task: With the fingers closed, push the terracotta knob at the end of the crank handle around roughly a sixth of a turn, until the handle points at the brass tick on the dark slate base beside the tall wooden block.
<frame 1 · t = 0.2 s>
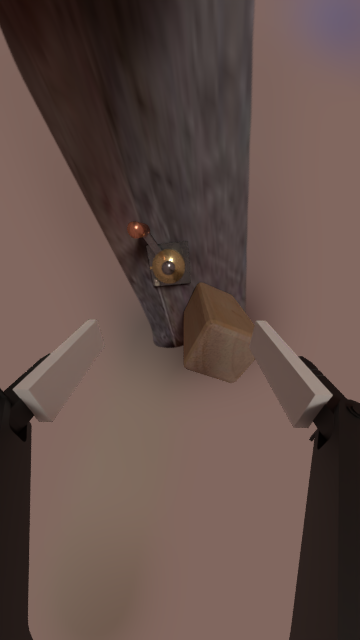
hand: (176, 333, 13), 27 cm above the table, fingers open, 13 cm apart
crank handle: (158, 255, 31), point 5 cm above the table, hinge at 0.0°
level base: (169, 264, 36), on the table
wooden block: (207, 304, 41), on the table
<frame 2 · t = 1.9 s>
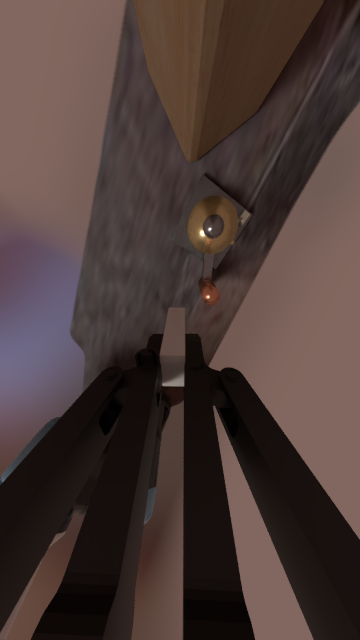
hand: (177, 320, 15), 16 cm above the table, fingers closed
crank handle: (211, 252, 22), point 5 cm above the table, hinge at 0.0°
level base: (209, 227, 25), on the table
wooden block: (204, 91, 18), on the table
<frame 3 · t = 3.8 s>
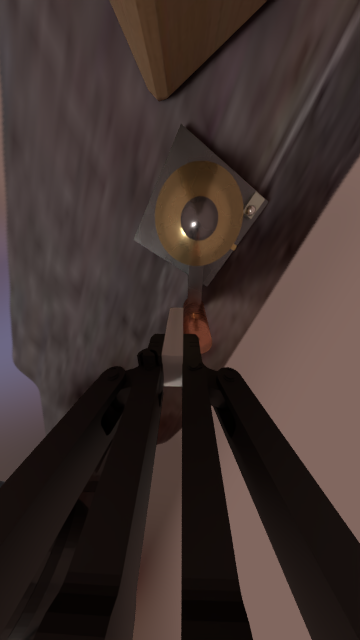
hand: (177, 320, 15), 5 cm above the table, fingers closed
crank handle: (197, 264, 13), point 5 cm above the table, hinge at 1.8°, touching gripper
level base: (196, 222, 15), on the table
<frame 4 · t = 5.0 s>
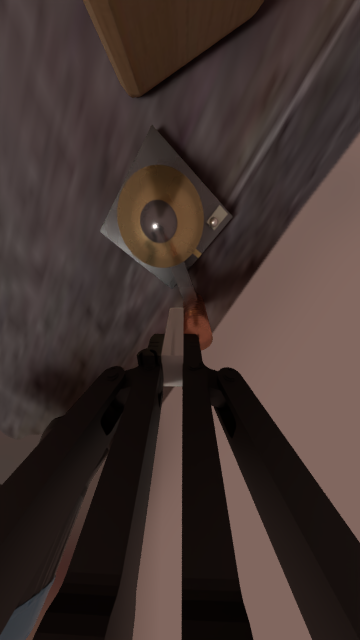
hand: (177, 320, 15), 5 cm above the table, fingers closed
crank handle: (173, 263, 13), point 5 cm above the table, hinge at 31.2°, touching gripper
level base: (165, 224, 16), on the table
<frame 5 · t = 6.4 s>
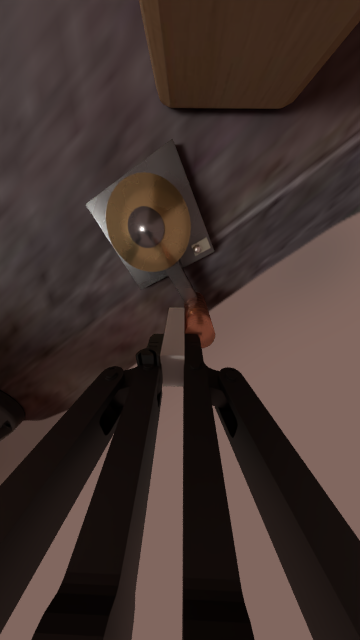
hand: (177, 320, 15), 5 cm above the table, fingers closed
crank handle: (166, 265, 13), point 5 cm above the table, hinge at 63.1°, touching gripper
level base: (155, 229, 16), on the table
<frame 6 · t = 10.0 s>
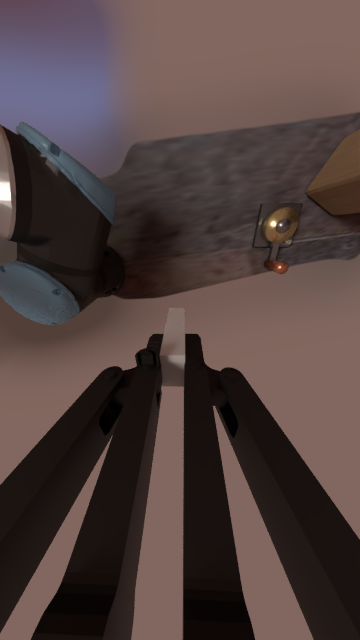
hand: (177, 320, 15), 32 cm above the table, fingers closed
crank handle: (281, 241, 36), point 5 cm above the table, hinge at 61.4°
level base: (274, 226, 39), on the table
wooden block: (335, 181, 35), on the table
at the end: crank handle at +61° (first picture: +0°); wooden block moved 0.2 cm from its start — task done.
